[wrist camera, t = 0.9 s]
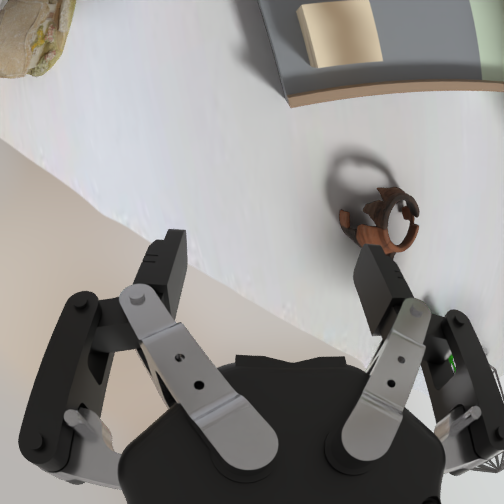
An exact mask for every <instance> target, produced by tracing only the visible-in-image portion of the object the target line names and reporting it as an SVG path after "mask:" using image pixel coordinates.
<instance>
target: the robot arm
mask: <svg viewBox="0 0 504 504" xmlns="http://www.w3.org/2000/svg"><path fill="white" fill-rule="evenodd" d="M186 271H187V240H186V230H178V229H168V231H167V234H166V236H165V239H164V240H155V241H154V242H153V243H152V244H151V245H150V246H149V247H148V250H147V252H146V254H145V256H144V258H143V262H142V263H141V266H140V268H139V270H138V273H137V275H136V278H135V280H134V282H133V285H131V286H128V287H126V288H125V289H124V290H123V291H122V292H121V294H120V296H119V297H116V298H112V299H105V300H98V297H97V296H96V295H95V294H94V293H92V292H89V291H82V292H78V293H76V294H74V295H72V296H71V297H70V298H69V299H68V300H67V302H66V304H65V306H64V309H63V311H62V313H61V316H60V317H59V320H58V322H57V324H56V327H55V329H54V331H53V334H52V336H51V339H50V341H49V344H48V346H47V349H46V352H45V354H44V357H43V359H42V362H41V365H40V368H39V371H38V374H37V376H36V379H35V382H34V385H33V389H32V391H31V395H30V398H29V401H28V405H27V408H26V411H25V415H24V418H23V422H22V426H21V430H20V434H19V439H18V440H19V441H18V443H19V448H20V451H21V453H22V455H23V456H24V457H25V458H26V459H27V460H28V461H30V462H32V463H33V464H35V465H37V466H38V467H40V468H41V469H42V470H44V471H45V472H47V473H49V474H51V475H53V476H55V477H57V478H59V479H61V480H65V481H67V482H69V483H72V484H76V485H79V484H83V483H85V482H88V483H92V484H96V485H100V486H105V487H109V488H114V489H119V490H122V491H123V494H124V496H125V498H126V501H127V504H441V501H440V490H441V483H442V477H443V474H445V473H450V474H452V475H454V476H458V475H461V474H463V473H465V472H467V471H469V470H471V469H473V468H474V467H476V466H478V465H480V464H482V463H484V462H485V461H487V460H489V459H490V458H492V457H494V456H496V455H497V454H499V453H500V452H502V451H504V403H503V400H502V397H501V394H500V392H499V389H498V386H497V383H496V381H495V378H494V375H493V373H492V370H491V368H490V365H489V363H488V360H487V358H486V356H485V353H484V351H483V349H482V346H481V344H480V342H479V340H478V337H477V335H476V333H475V331H474V329H473V327H472V325H471V323H470V321H469V319H468V317H467V316H466V315H465V314H463V313H462V312H460V311H458V310H450V311H448V312H447V314H446V315H445V317H442V316H438V315H435V314H431V311H430V309H429V307H428V306H427V305H426V304H425V303H424V302H423V301H421V300H419V299H416V298H414V296H413V294H412V292H411V290H410V288H409V287H408V285H407V283H406V281H405V279H404V277H403V275H402V273H401V272H400V269H399V267H398V265H397V264H396V263H395V262H394V261H393V260H392V259H391V258H390V257H389V256H386V254H385V252H384V250H383V249H382V247H381V246H380V245H375V244H364V245H363V247H362V249H361V252H360V255H359V258H358V261H357V264H356V266H355V269H354V275H353V279H354V284H355V287H356V289H357V292H358V295H359V298H360V301H361V304H362V307H363V310H364V313H365V316H366V319H367V322H368V325H369V328H370V331H371V334H372V336H382V340H381V342H380V344H379V346H378V348H377V350H376V352H375V354H374V356H373V358H372V359H371V361H370V363H369V365H368V367H367V369H366V371H365V372H364V371H362V370H361V369H359V368H356V367H354V366H351V365H347V364H346V360H345V357H344V356H343V357H317V358H313V359H309V360H304V361H300V362H296V363H290V362H285V361H282V360H277V359H273V358H269V357H265V356H248V355H236V358H235V363H231V364H227V365H224V366H221V367H219V368H216V367H215V365H214V364H213V363H212V362H211V360H209V358H208V356H207V355H206V354H205V352H204V351H203V350H202V349H201V347H200V346H199V345H198V343H197V342H196V341H195V339H194V338H193V337H192V335H191V334H190V333H189V331H188V330H187V328H186V327H185V326H184V325H183V324H182V323H181V322H179V323H176V322H175V318H176V313H177V309H178V304H179V300H180V296H181V292H182V288H183V283H184V279H185V275H186ZM131 349H135V350H136V352H137V354H138V356H139V358H140V360H141V361H142V363H143V365H144V367H145V368H146V370H147V372H148V374H149V375H150V377H151V379H152V381H153V382H154V384H155V386H156V388H157V390H158V393H159V394H160V396H161V398H162V400H163V401H164V403H165V404H166V406H167V408H168V410H167V411H166V412H165V413H164V414H163V415H162V416H161V417H159V419H157V420H156V421H155V422H154V423H153V424H152V425H150V426H149V427H148V428H147V429H146V430H145V431H144V432H142V433H141V434H140V435H139V436H138V437H137V438H136V439H134V440H133V441H132V442H131V443H130V444H129V445H128V446H127V447H126V448H125V450H124V451H123V453H122V454H119V453H116V452H115V451H114V449H113V446H112V435H111V432H110V430H109V429H108V427H107V426H106V425H105V424H104V423H103V421H101V419H100V417H101V411H102V406H103V401H104V397H105V392H106V387H107V383H108V378H109V374H110V370H111V366H112V361H113V357H114V353H115V352H117V351H124V350H131ZM451 354H452V356H453V358H454V361H455V364H456V372H455V374H454V373H453V370H452V367H451V365H450V362H449V359H448V358H449V357H450V355H451ZM420 364H421V367H422V370H423V374H424V377H425V381H426V384H427V388H428V392H429V395H430V399H431V403H432V407H433V411H434V415H435V419H436V424H437V425H436V426H435V430H434V433H433V432H432V431H431V430H430V429H428V428H427V427H426V426H425V425H424V424H423V423H422V422H421V421H420V420H418V419H417V418H416V417H415V416H414V415H413V414H412V413H411V412H409V410H407V409H406V408H405V404H406V402H407V399H408V397H409V394H410V392H411V389H412V387H413V384H414V381H415V378H416V376H417V373H418V370H419V367H420Z"/></svg>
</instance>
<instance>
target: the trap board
mask: <svg viewBox="0 0 504 504" xmlns="http://www.w3.org/2000/svg"><path fill="white" fill-rule="evenodd" d="M257 1H258V4H259V7H260V10H261V13H262V17H263V20H264V23H265V26H266V30H267V33H268V37H269V40H270V43H271V47H272V50H273V54H274V58H275V61H276V65H277V69H278V72H279V76H280V80H281V84H282V88H283V92H284V96H285V99H286V101H287V103H288V104H289V106H290V108H294V107H299V106H304V105H310V104H315V103H321V102H327V101H334V100H340V99H347V98H355V97H363V96H372V95H381V94H392V93H405V92H421V91H497V92H504V0H369V2H370V6H371V10H372V13H373V17H374V21H375V25H376V30H377V34H378V38H379V43H380V48H381V53H382V58H383V61H378V62H365V63H355V64H346V65H337V66H330V67H323V68H315V67H311V66H310V61H309V57H308V53H307V50H306V46H305V42H304V38H303V35H302V31H301V27H300V24H299V20H298V17H297V13H296V11H297V9H298V8H299V7H300V6H301V5H305V4H313V3H322V2H333V1H348V0H257Z"/></svg>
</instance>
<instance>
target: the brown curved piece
mask: <svg viewBox="0 0 504 504" xmlns="http://www.w3.org/2000/svg"><path fill="white" fill-rule="evenodd" d="M377 190H378V191H379V192H380V194H381V196H382V199H383V201H380V200H378V201H374V202H372V203H368V204H366V205H365V207H364V208H363V212H364V213H366V214H369V216H370V218H371V219H372V220H373V221H374V223H375V224H376V226H368V225H365V224H361V225H359V226H358V227H357V230H356V229H352V228H351V227H350V213H349V212H346V211H343V210H340V214H339V218H340V224H341V228H342V230H343V232H344V233H345V234H346V235H347V236H349V237H350V238H351V239H352V240H353V241H354V242H355V243H356V244H358V245H359V246H360V247H361V248H362V247H363V245H364V244H375V245H380V246H381V247H382V249H383V250H384V252H385V254H386V256H389V257H390V258H391V259H392V260H393V258H394V255H395V254H396V252H403V251H405V250H406V249H408V248H409V247H410V246H411V245H412V243H413V242H414V240H415V238H416V236H417V233H418V230H419V225H417V224H414V216H415V217H419V207H418V205H417V203H416V201H415V199H414V198H413V197H412V196H409V195H408V194H406V193H405V192H404V191H403V190H402V189H400V188H397V187H392V188H377ZM400 200H405V201H406V205H407V206H405V207H402V214H403V218H404V219H405V220H409V221H410V226H409V230H408V233H407V235H406V237H405V238H404V240H403V241H402V243H401V244H399V245H394V244H393V243H392V242H391V240H390V238H389V234H388V229H387V227H388V219H389V215H390V213H391V210H392V208H393V207H394V205H395V204H396V203H397V202H399V201H400Z"/></svg>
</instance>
